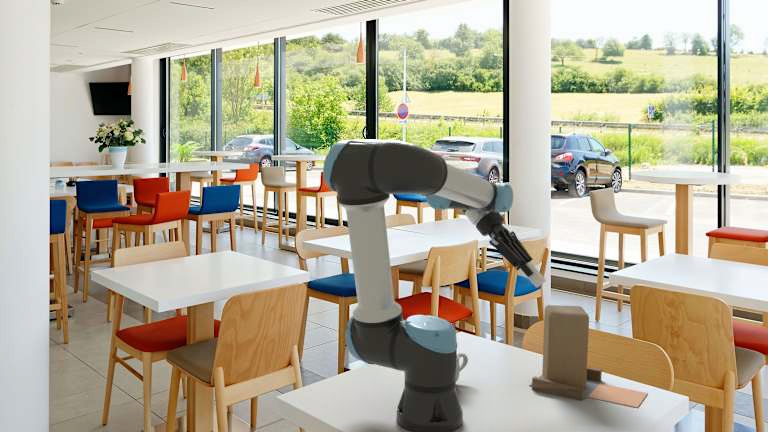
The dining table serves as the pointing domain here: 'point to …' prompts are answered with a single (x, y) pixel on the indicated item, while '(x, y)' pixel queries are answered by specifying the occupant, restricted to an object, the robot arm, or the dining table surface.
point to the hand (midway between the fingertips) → (541, 284)
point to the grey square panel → (588, 389)
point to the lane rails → (565, 385)
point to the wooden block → (565, 344)
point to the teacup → (464, 363)
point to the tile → (618, 395)
